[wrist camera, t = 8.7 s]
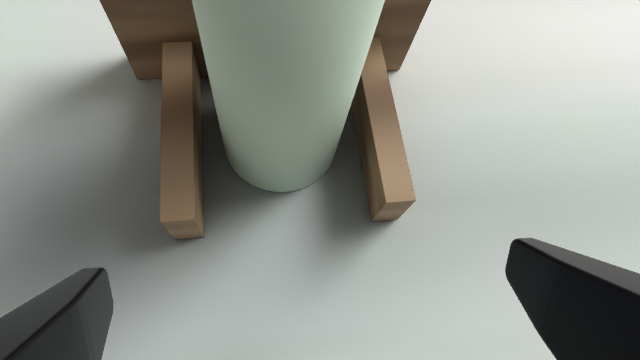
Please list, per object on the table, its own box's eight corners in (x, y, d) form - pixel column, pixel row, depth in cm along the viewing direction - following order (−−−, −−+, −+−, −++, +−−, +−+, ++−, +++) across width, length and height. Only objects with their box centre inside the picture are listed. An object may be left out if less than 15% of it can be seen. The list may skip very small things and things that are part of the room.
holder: (433, 215, 19) (518, 144, 12) (130, 243, 17) (45, 176, 10) (393, 45, 22) (443, -79, 16) (139, 52, 20) (78, -86, 14)
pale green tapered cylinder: (276, 215, 18) (287, -8, 7) (200, 135, 19) (103, -170, 8) (358, 145, 20) (471, -122, 9) (284, 75, 21) (301, -242, 10)
